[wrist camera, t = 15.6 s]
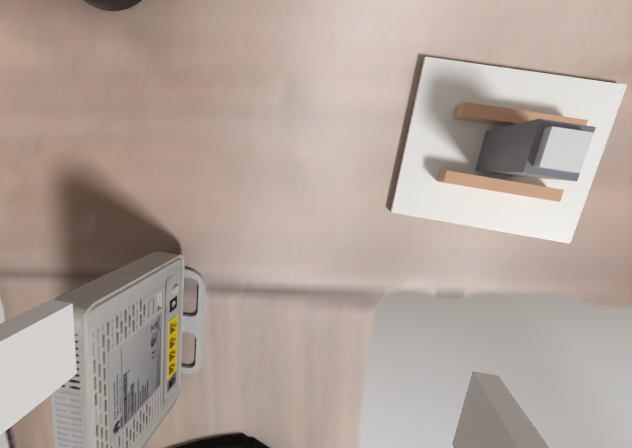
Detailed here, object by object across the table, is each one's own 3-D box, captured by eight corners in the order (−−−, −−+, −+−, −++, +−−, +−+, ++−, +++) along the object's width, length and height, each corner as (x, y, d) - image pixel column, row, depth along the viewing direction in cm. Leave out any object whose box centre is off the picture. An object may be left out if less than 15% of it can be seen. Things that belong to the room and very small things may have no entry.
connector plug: (485, 130, 39) (546, 116, 27) (526, 136, 38) (605, 125, 26) (475, 169, 40) (529, 173, 28) (514, 176, 39) (585, 182, 28)
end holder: (423, 59, 38) (432, 47, 35) (619, 86, 37) (651, 77, 33) (390, 211, 43) (394, 216, 39) (565, 241, 41) (587, 249, 37)
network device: (154, 242, 47) (21, 299, 28) (208, 251, 47) (109, 314, 27) (153, 381, 53) (40, 510, 33) (200, 390, 52) (114, 527, 33)
